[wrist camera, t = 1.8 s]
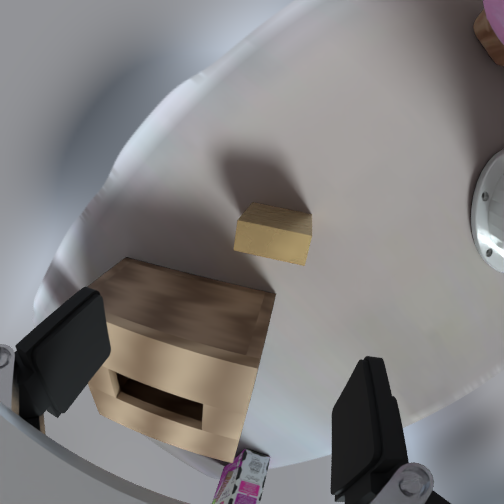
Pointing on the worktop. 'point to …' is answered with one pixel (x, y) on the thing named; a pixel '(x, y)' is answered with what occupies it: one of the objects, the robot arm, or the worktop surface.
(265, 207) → the beige flat block
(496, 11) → the cupcake
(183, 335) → the beige box with opening
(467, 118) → the worktop surface
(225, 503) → the candy bar box
